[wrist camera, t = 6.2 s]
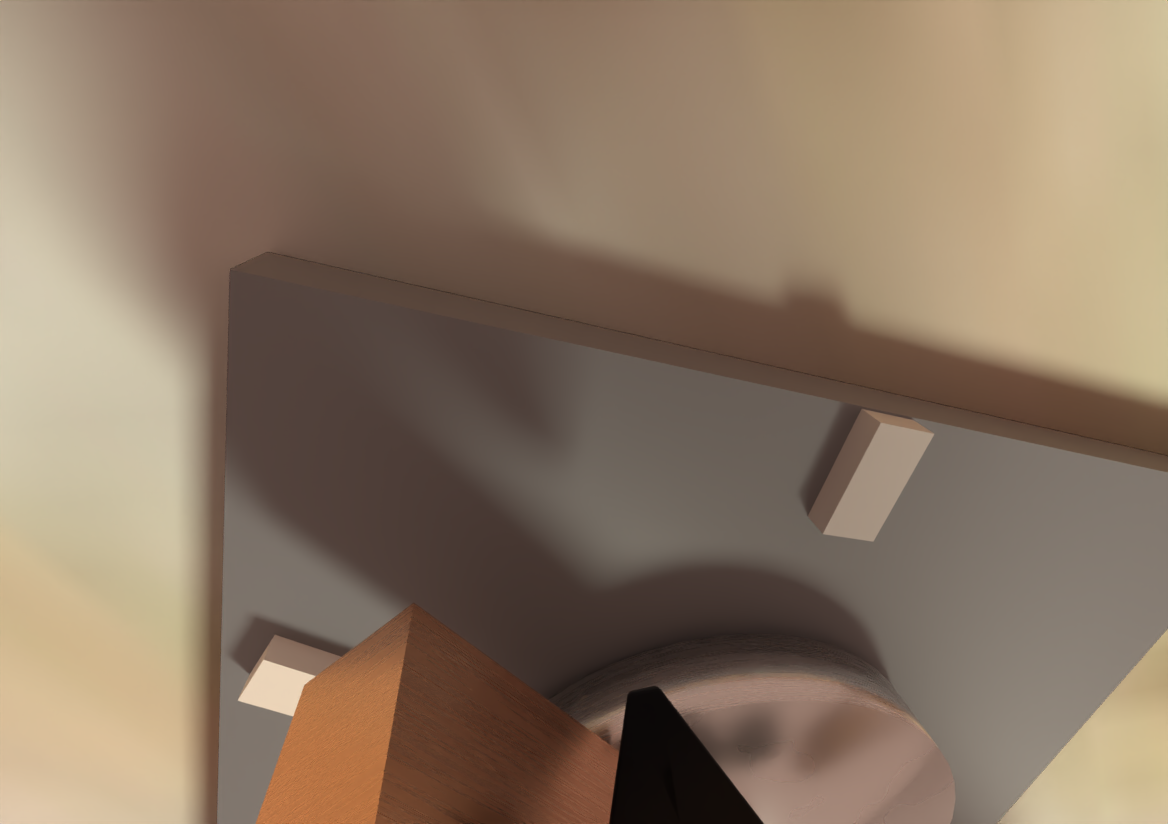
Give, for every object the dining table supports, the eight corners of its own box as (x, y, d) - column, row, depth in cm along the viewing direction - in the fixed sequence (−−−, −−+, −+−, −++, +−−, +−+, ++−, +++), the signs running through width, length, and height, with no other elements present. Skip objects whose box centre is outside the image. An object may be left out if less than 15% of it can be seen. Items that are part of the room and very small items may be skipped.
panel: (1211, 465, 15) (1315, 511, 13) (837, 933, 24) (867, 1001, 22) (267, 251, 9) (211, 278, 8) (233, 962, 18) (203, 1056, 16)
